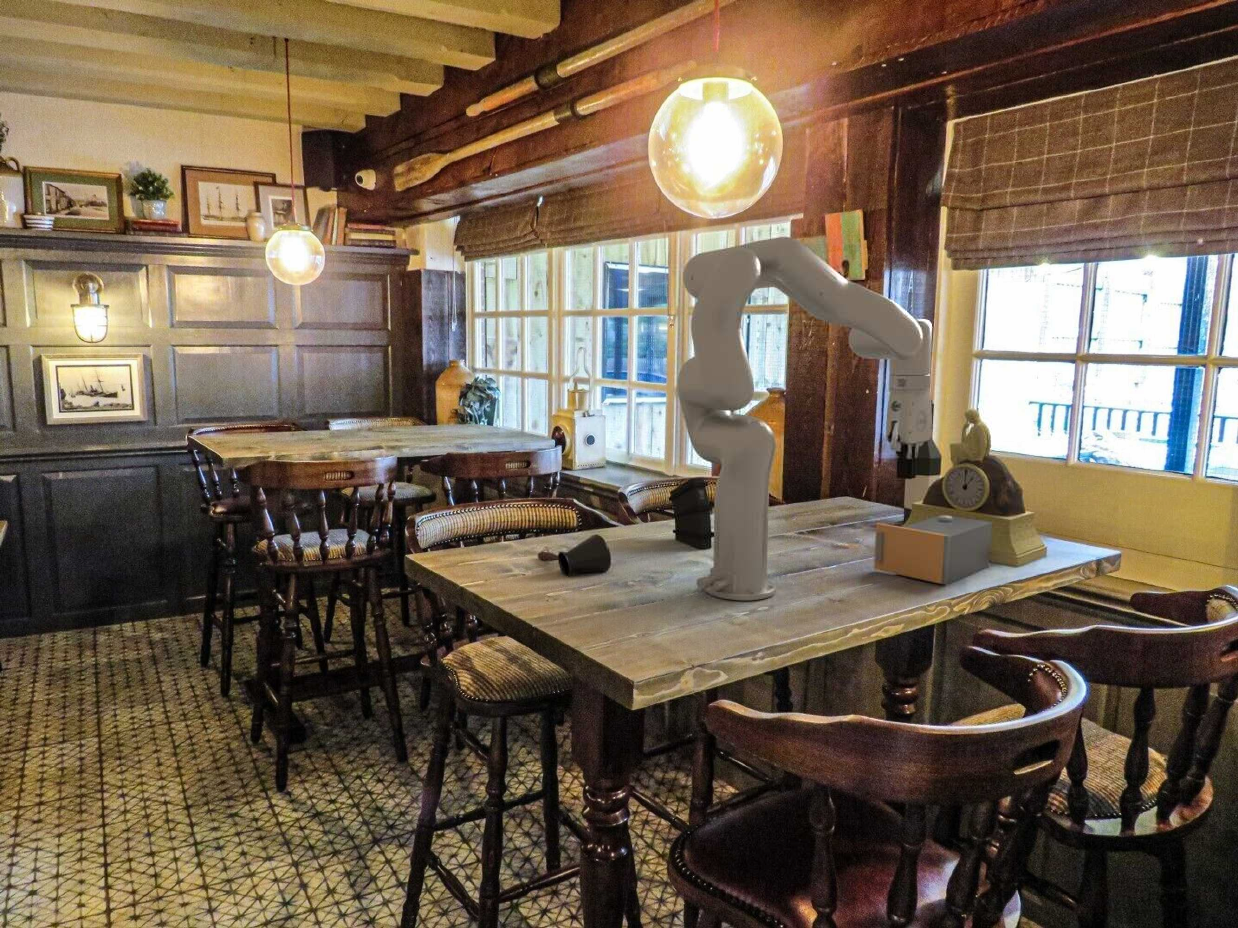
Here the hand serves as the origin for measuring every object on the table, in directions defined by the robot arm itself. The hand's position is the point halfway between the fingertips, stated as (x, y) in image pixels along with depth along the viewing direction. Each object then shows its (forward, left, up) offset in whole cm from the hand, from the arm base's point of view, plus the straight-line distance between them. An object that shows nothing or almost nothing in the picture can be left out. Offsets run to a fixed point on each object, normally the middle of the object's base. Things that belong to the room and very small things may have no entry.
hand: (906, 477), depth 168 cm
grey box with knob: (+4, -7, -18) cm, 20 cm away
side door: (-7, -6, -17) cm, 20 cm away
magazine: (-16, +42, -18) cm, 48 cm away
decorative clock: (+23, -2, -18) cm, 29 cm away
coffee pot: (-48, +45, -18) cm, 68 cm away
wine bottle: (+38, +16, -18) cm, 44 cm away
